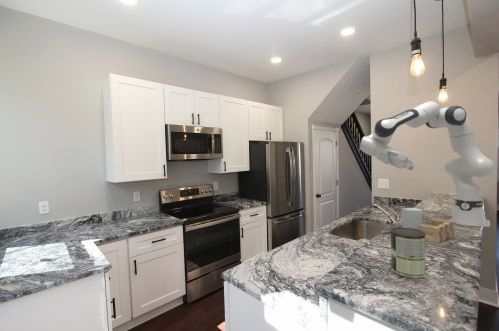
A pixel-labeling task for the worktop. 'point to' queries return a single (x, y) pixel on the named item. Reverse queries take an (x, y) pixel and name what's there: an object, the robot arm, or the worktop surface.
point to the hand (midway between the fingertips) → (413, 167)
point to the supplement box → (411, 218)
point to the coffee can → (408, 252)
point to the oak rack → (437, 230)
